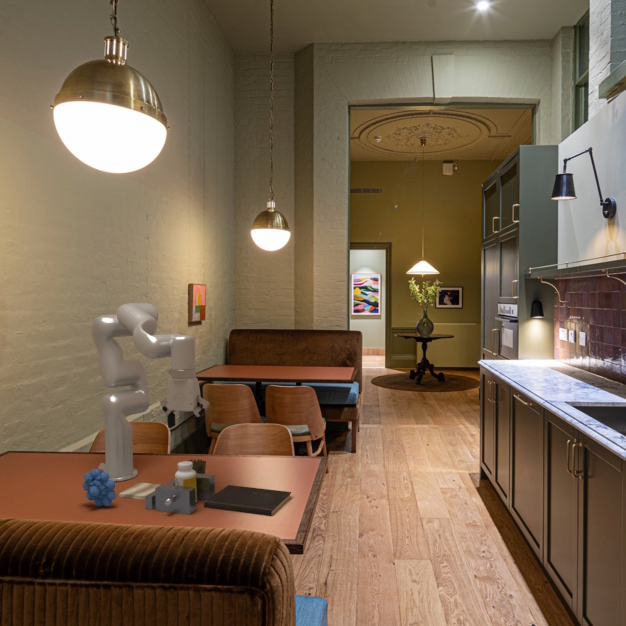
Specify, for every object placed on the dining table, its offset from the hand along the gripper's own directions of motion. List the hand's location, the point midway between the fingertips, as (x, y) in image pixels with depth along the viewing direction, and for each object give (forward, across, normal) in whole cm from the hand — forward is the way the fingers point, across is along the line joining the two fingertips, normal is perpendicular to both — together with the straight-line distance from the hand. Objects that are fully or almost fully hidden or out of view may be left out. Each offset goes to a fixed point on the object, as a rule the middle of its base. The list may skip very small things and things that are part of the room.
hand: (185, 427), depth 170 cm
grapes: (+24, -25, -11) cm, 37 cm away
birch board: (+24, -19, +4) cm, 31 cm away
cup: (+24, -6, +16) cm, 30 cm away
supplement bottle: (+24, 0, 0) cm, 24 cm away
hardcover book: (+25, +19, +6) cm, 32 cm away
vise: (+24, -2, -2) cm, 24 cm away
